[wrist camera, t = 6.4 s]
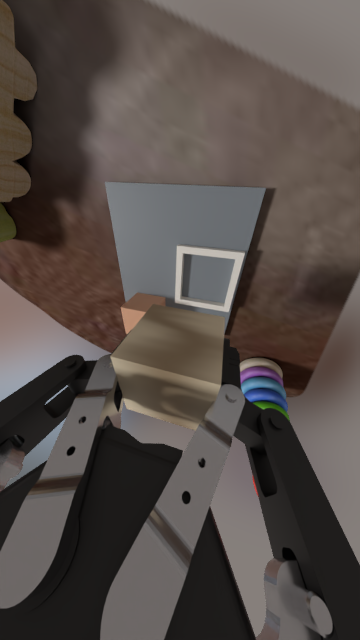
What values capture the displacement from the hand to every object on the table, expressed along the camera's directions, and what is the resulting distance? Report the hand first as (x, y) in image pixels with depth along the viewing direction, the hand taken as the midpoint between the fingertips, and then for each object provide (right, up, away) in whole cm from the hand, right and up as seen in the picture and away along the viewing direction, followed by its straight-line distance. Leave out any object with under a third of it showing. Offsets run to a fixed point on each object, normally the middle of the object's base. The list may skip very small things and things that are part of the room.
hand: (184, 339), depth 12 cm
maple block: (0, 0, 0) cm, 0 cm away
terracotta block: (-5, +4, +16) cm, 17 cm away
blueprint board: (-1, +9, +12) cm, 15 cm away
